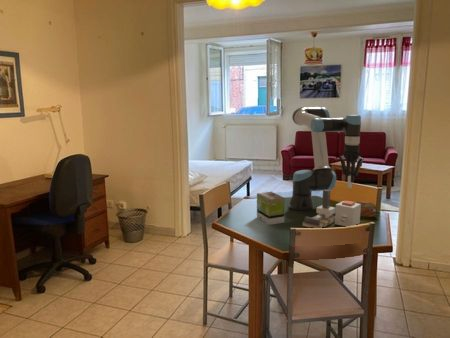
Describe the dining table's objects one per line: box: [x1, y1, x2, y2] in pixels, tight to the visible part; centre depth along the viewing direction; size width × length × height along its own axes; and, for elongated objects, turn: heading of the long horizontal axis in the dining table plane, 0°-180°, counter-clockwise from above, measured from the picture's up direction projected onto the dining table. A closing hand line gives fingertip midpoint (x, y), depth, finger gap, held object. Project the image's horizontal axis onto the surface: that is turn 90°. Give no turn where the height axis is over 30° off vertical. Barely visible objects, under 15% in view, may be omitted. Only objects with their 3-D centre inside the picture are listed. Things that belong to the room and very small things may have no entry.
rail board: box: [302, 213, 335, 229], centre depth 215 cm, size 24×10×5 cm, turn 140°
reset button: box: [341, 200, 356, 206], centre depth 211 cm, size 5×5×3 cm
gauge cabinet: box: [334, 200, 361, 227], centre depth 212 cm, size 10×11×11 cm
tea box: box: [256, 191, 286, 226], centre depth 218 cm, size 15×10×15 cm
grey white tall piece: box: [315, 189, 336, 218], centre depth 217 cm, size 7×8×15 cm
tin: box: [354, 201, 378, 218], centre depth 226 cm, size 15×3×8 cm, turn 68°
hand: (349, 187), depth 209 cm, fingers closed
